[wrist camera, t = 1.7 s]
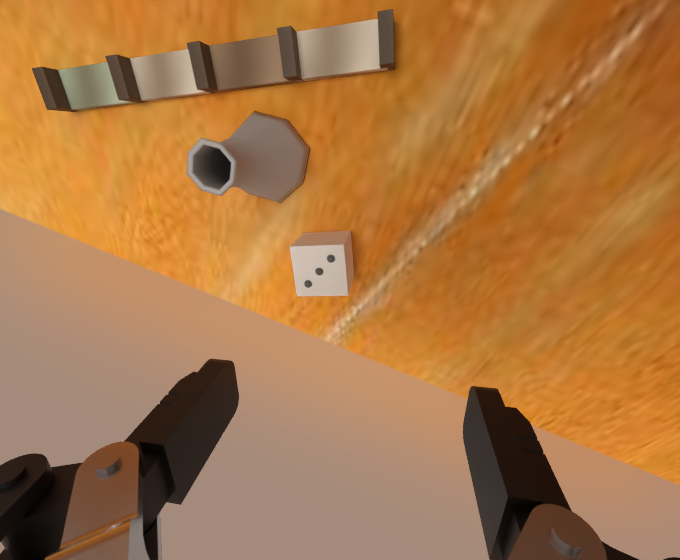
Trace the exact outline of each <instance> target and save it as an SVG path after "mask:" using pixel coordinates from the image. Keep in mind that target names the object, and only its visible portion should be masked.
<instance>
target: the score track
mask: <svg viewBox="0 0 680 560" xmlns="http://www.w3.org/2000/svg"><path fill="white" fill-rule="evenodd" d="M277 32H278V35H274V36H267V37H261V38H255V39H249V40H242V41H236V42H230V43H224V44H218V45H211V46H208V45H206V44H204V43H202V42H200V41H196V42H190V43H187V46H188V49H186V50H180V51H174V52H168V53H161V54H155V55H149V56H143V57H136V58H127V57H123V56H120V55H111V56H106V60H107V62H105V63H99V64H93V65H86V66H80V67H74V68H68V69H61V70H55V69H50V68H46V67H37V68H32V70H33V73H34V76H35V78H36V81H37V84H38V86H39V89H40V92H41V94H42V97H43V100H44V102H45V105H46V108H47V110H58V111H70V112H74V111H82V110H89V109H97V108H105V107H112V106H120V105H127V104H135V103H143V102H150V101H158V100H165V99H173V98H181V97H188V96H196V95H203V94H211V93H219V92H226V91H234V90H241V89H249V88H257V87H264V86H272V85H279V84H287V83H295V82H302V81H310V80H317V79H325V78H333V77H340V76H348V75H356V74H363V73H371V72H378V71H386V70H394V69H395V68H394V21H393V9H391V10H385V11H379V12H378V19H374V20H367V21H361V22H355V23H349V24H342V25H336V26H330V27H324V28H317V29H311V30H305V31H299V32H296V31H295V30H294V29H293V28H292V27H291V26H287V27H281V28H277Z"/></svg>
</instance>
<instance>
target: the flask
mask: <svg viewBox="0 0 680 560" xmlns="http://www.w3.org/2000/svg"><path fill="white" fill-rule="evenodd" d="M308 154H309V147H308V146H307V145H306V143H305V142H304V141H303V140H302V138H301V137H300V136H299V134H298V133H297V132H296V131H295V129H294V128H293V127H292V125H291V124H290V123H289V122H288V120H286V119H282V118H278V117H275V116H271V115H267V114H263V113H260V112H256V111H254V112H253V113H252V114H251V115H250V116H249V117H248V119H247V120H246V121H245V122H244V123H243V124H242V125H241V126H240V127H239V128H238V129H237V130H236V131H235V133H234V134H233V135H232V136H231V137H230V138H229V139H227V140H225V141H223V142H221V143H219V142H215V141H212V140H208V139H204V138H200V140H199V141H198V142H197V143H196V144H195V145H194V146H193V148H192V149H191V150H190V151H189V152H188V162H187V175H188V176H189V177H190V178H191V179H192V180H193V181H194V182H195V184H196V185H197V186H198V187H199V188H200V189H201V190H202V191H205V192H209V193H212V194H216V195H219V196H222V195H223V194H224V193H225V192H226V191H227V190H228V189H229V188H231V187H238V188H240V189H242V190H244V191H245V192H247V193H249V194H251V195H255V196H258V197H262V198H265V199H269V200H272V201H276V202H279V203H281V202H282V201H283V200H284V199H285V198H287V197H288V196H289V195H290V194H291V193H292V192H293V191H294V190H296V189H297V188H298V187H299V186H300V185H301V184H302V183H303V181H304V176H305V170H306V165H307V160H308Z"/></svg>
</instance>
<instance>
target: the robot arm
mask: <svg viewBox="0 0 680 560" xmlns="http://www.w3.org/2000/svg"><path fill="white" fill-rule="evenodd" d="M238 400H239V393H238V387H237V380H236V373H235V367H234V363H233V362H232V361H228V360H218V359H209V360H208V361H207V362H206V363H205V364H204V365H203V367H202V368H201V369H200V370H199V371H198V372H192V373H191V374H189V375H188V376H186V377H185V378H183V379H181V380H180V381H179V382H178V383H177V384H176V385H175V386H174V387H173V388H172V389H171V390H170V391H169V394H168V395H166V396H165V397H164V398H163V399H162V400H161V401H160V404H158V405H157V406H156V407H155V408H154V409H153V410H152V411H151V412H150V414H149V415H148V416H147V417H146V418H145V419H144V420H143V421H142V423H140V425H139V426H138V427H137V428H136V429H135V430H134V431H133V432H132V434H131V435H130V436H129V437H128V438H127V439H126V440H125V441H124V442H117V443H113V444H110V445H107V446H105V447H103V448H101V449H99V450H97V451H96V452H94V453H93V454H91V455H90V456H89V457H88V458H87V459H86V460H85V461H84V462H83V463H77V464H71V465H64V466H58V467H50V464H49V462H48V460H47V458H46V457H45V456H44V455H42V454H27V455H23V456H20V457H17V458H15V459H12V460H10V461H8V462H6V463H4V464H2V465H1V466H0V542H2V544H3V545H4V547H5V549H4V550H3V551H2V553H1V554H0V560H162V544H161V519H160V514H159V512H160V511H161V509H162V508H163V506H164V505H165V503H166V502H169V503H174V504H180V505H181V503H182V502H183V500H184V498H185V497H186V495H187V493H188V492H189V490H190V488H191V486H192V485H193V483H194V481H195V480H196V478H197V476H198V475H199V473H200V471H201V469H202V468H203V466H204V464H205V463H206V461H207V460H208V458H209V456H210V454H211V453H212V451H213V449H214V448H215V446H216V444H217V443H218V441H219V439H220V438H221V436H222V434H223V432H224V431H225V429H226V428H227V426H228V424H229V423H230V421H231V419H232V417H233V416H234V414H235V412H236V410H237V406H238ZM463 439H464V445H465V449H466V454H467V459H468V464H469V468H470V472H471V477H472V482H473V486H474V490H475V495H476V500H477V505H478V509H479V513H480V518H481V522H482V527H483V532H484V536H485V541H486V546H487V550H488V555H489V559H490V560H639V559H636V558H634V557H632V556H629V555H627V554H625V553H623V552H621V551H618V550H616V549H614V548H612V547H610V546H609V545H607V544H605V543H603V542H602V541H601V540H600V538H599V537H598V535H597V534H596V532H595V531H594V530H593V529H592V527H591V526H590V525H588V524H587V522H585V521H584V520H583V519H582V518H581V517H579V516H578V515H577V514H575V513H573V512H572V511H571V509H570V507H569V505H568V503H567V501H566V499H565V497H564V494H563V492H562V490H561V488H560V486H559V484H558V481H557V479H556V477H555V475H554V473H553V471H552V469H551V466H550V464H549V462H548V460H547V458H546V456H545V454H543V450H542V447H541V445H540V443H539V441H537V437H536V434H535V432H534V430H533V428H532V426H531V424H530V422H529V421H528V420H527V419H526V418H525V417H524V416H523V415H522V414H521V412H520V411H519V410H518V409H517V408H512V407H505V405H504V403H503V400H502V398H501V395H500V393H499V391H498V389H495V388H486V387H476V386H472V387H471V388H470V391H469V396H468V401H467V407H466V412H465V417H464V423H463ZM664 560H680V558H676V557H673V558H667V559H664Z"/></svg>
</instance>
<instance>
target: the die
mask: <svg viewBox="0 0 680 560" xmlns="http://www.w3.org/2000/svg"><path fill="white" fill-rule="evenodd" d="M290 252H291V259H292V265H293V272H294V279H295V285H296V292H297V296H348V294H349V291H350V288H351V285H352V282H353V279H354V264H353V251H352V238H351V231H333V232H311V233H303V234H302V235H301V236H300V237H299V238H298V239H297V240H296V241H295V242H294V243H293V244H292V245H291V246H290Z"/></svg>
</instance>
